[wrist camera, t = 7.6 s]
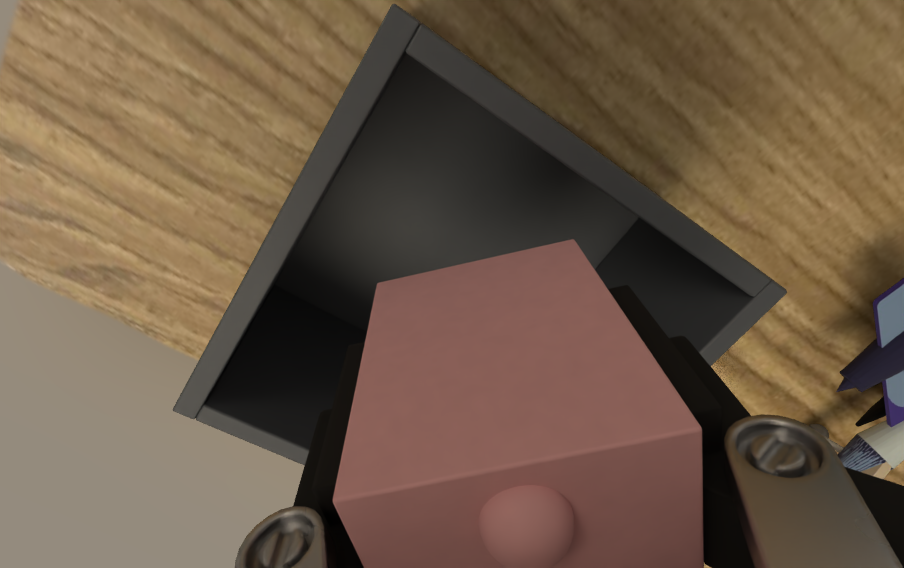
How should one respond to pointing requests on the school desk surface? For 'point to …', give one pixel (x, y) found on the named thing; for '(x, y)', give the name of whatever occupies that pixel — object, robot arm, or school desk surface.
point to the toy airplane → (900, 370)
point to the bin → (441, 233)
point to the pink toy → (516, 426)
